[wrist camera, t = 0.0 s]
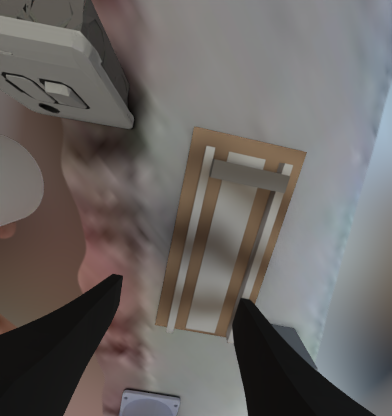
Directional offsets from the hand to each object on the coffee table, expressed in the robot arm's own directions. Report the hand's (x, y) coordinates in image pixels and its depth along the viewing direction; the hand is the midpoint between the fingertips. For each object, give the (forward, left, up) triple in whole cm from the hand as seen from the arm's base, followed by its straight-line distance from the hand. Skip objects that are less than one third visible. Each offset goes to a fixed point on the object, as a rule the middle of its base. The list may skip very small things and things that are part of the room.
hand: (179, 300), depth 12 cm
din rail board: (0, -4, -10) cm, 11 cm away
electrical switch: (+12, +12, -10) cm, 20 cm away
